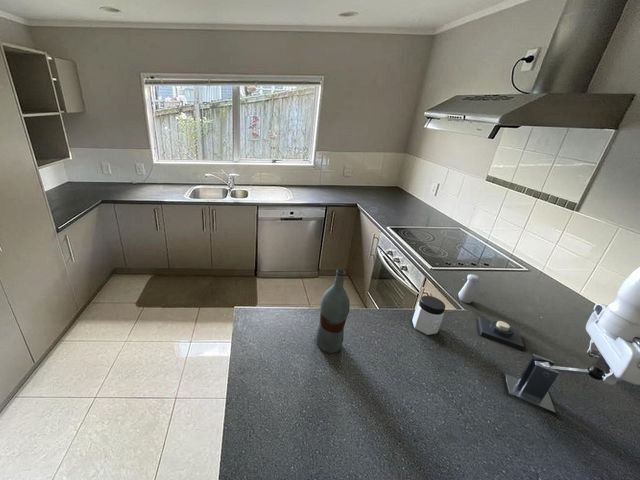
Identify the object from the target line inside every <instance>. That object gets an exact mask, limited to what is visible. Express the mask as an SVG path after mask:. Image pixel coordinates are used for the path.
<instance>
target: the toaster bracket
mask: <svg viewBox="0 0 640 480" xmlns="http://www.w3.org/2000/svg"><path fill="white" fill-rule="evenodd" d="M535 361H541V362H548V363H549V366H555V363H556V362H555V360H553V359H550V358H547V357H544V356H541V355H538V354H535V353H533V354H532V355H531V357H530V359H529V361H528V362H527V364H526V365H525V368H524V370H523V371H522V373H521V374H520V377H519V378H517V377H515V376H512V375H509V374H507V373H504V377H505V381H506V387H507V390H508V394H509V395H511V396H514V397H516V398H519V399H521V400H523V401H526V402H528V403H530V404H533V405H535V406H537V407H540V408H543V409H545V410H547V411H550V412H552V413H554V414H556V410H555V407H554V404H553V401H552V398H551V396H550V393H549V390H550V388H551V387H552V386H553V384H554V383H555V381H556V379H557V378H558V376H559V375H560V372H558V371H557V370H554V369H551V368H549V367H546V366H543V365H540V364H538V363H536V365H535Z"/></svg>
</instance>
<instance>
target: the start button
mask: <svg viewBox="0 0 640 480" xmlns="http://www.w3.org/2000/svg"><path fill="white" fill-rule="evenodd" d="M497 321H498V322H497V324H496V327H497V328H499V329H501V330H503V331H508V330H509V328H510V327H511V326H510V325H509V323H507V322H505V321H502V320H497Z"/></svg>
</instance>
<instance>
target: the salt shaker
mask: <svg viewBox="0 0 640 480" xmlns="http://www.w3.org/2000/svg"><path fill="white" fill-rule="evenodd" d="M466 278H467V281H466V282H465V284H463V286H462V288H461V289H460V290H459V292H458V298H459V301H461V302H463V303H464V304H471V303H472V302H474V301H475V298H476V290H477V284H479V283H480V280H481V278H480V276H478V275H476V274H467V277H466Z"/></svg>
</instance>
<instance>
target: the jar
mask: <svg viewBox="0 0 640 480" xmlns="http://www.w3.org/2000/svg"><path fill="white" fill-rule="evenodd" d="M445 310H446V304H445V302H443V301H442V300H441V299H440V298H437V297H436V296H432V295H422V296H421V297H420V298H419V301H418V302H417V304H416V307H415V310H414V313H413V316H412V319H411V321H412V325H413V328H414V329H415V330H417V331H419V332H421V333H423V334H424V335H426V336H429V335H436V334H438V332H439V329H440V327H441V325H442V322H443V319H444V316H445Z"/></svg>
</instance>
